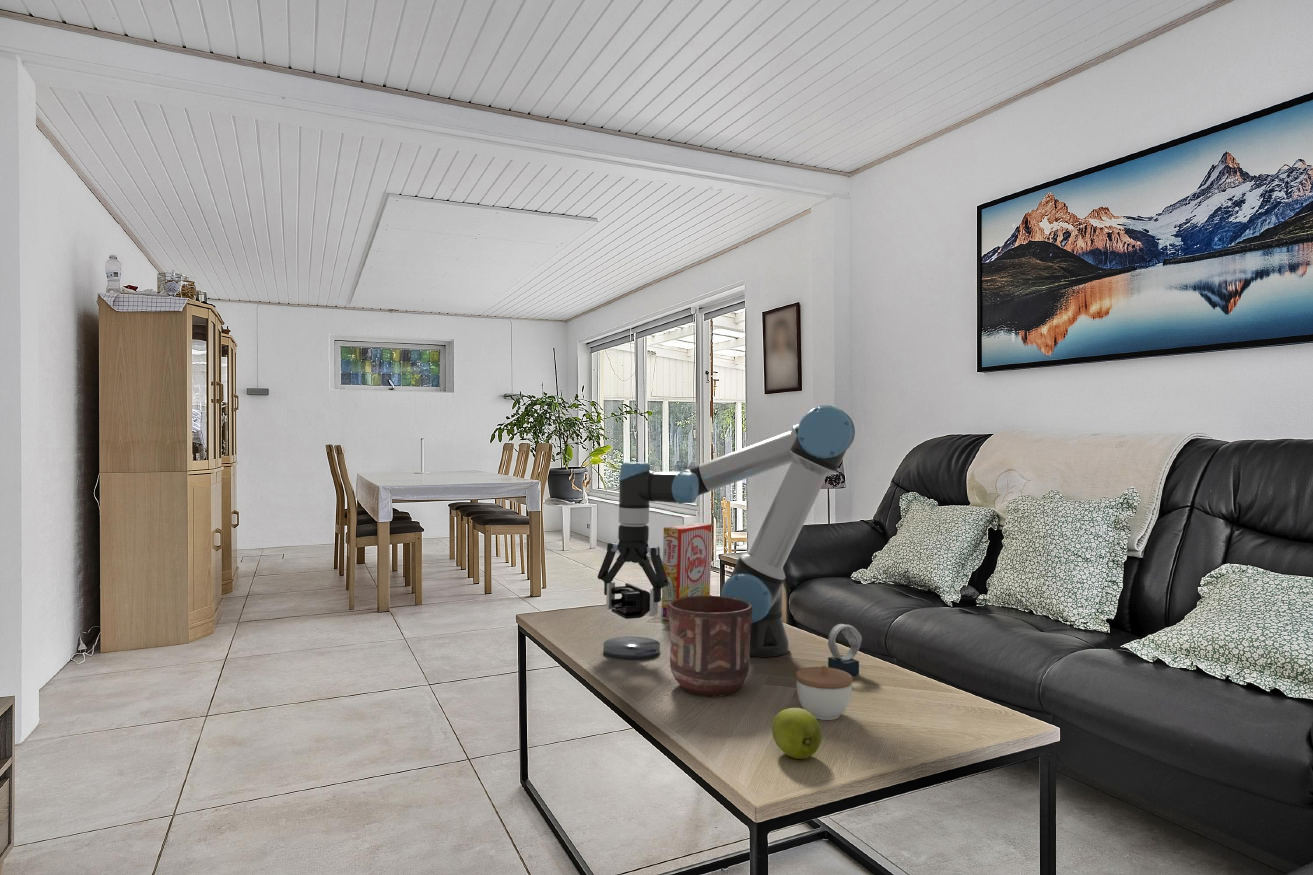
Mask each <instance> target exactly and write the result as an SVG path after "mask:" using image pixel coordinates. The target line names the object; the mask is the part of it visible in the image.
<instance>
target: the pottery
mask: <svg viewBox="0 0 1313 875" xmlns="http://www.w3.org/2000/svg"><path fill="white" fill-rule="evenodd" d="M668 615H669V620H668V623H669V637H670V638H669V639H670V649H669V650H670V651H669V666H670V671H671V673H672V676H673V677H674V679H675V682H677V683H678V685H680V686H681V688H682V689H683V690H685V692H688V693H690V694H692V695H696V696H701V697H702V696H703V697H725V696H730V695H733V694H735V693H736V692H737V691H738V690H739V689H740V688H741V687H742V686H743V684H744V683H745V681H746V679H747V677H748V675H749V671H750V657H751V656H750V629H751V619H752V606H751V604H750V603H748V602H746V601H744V600H740V599H736V598H730V597H722V596H721V595H719V596H718V595H710V596H688V597H682V598H677V599H675V600H673V601H670V602H669V604H668Z"/></svg>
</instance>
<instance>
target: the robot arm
mask: <svg viewBox="0 0 1313 875" xmlns="http://www.w3.org/2000/svg"><path fill="white" fill-rule="evenodd" d="M855 433H856V429H855V424H854V422H853V420H852V418H851V417H850V416H849V414H848V413H846V412H845V411H844V410H842V409H840V408H839V407H836V406H833V405H828V404H827V405H826V404H825V405H819V406H815V407H813V408H811V409H810V410H809V411H808V412H806V413H805V414H804V415H803V416H802V418H801V419H800V421H799V423H797V424H794V425H793V426H792V428H791V430H790V431H789V430H788V431H787V432H783V433H781V434H778V435H776V436H773V437H770V438H767V439H765V440H762V441H759V442H757V443H754V444H751V445H749V446H746V447H743V448H741V449H737V450H735V451H733V452H730V453H726V454H724V455H721V456H719V457H716V458H714V459H711V460H708V461H705V462H703V463H700V464H697V465H694V466H691V467H687V468H686V469H682V470H676V471H656V470H652V469H651V464H650V463H648V462H641V461H640V462H633V461H627V462H626V461H625V462H623V463H622V464H621V465H620V467H619V468H620V469H619V470H620V471H619V480H618V483H619V484H618V486H619V488H618V489H619V492H618V493H619V495H618V496H619V497H618V498H619V500H618V501H619V502H618V503H619V504H618V523H619V524H620V525H618V532H617V533H618V534H617V539H618V542H615V541H613V542H608V543H607V545H606V553H605V556H604V557H603V558H604V559H603V561H602V564H601V565H600V569H599V571H598V573H597V579H598V580H601V581H602V582H603V585H604V586H603V588H604V589H603V593H604V596H606V602H605V603H606V605H605V606H606V610H609V611H610V610H612V609H614V608H613V607H612V606H611V599H616V594H611V589H612V587H616V582H615V581H614V579H615V577H616V576H617V574H619V571H620V570H621V569H622V567H623V566H624V564H625V563H630V562H631V563H633V564H637V563H638V565H639V566H640V568H642V570H643V572H644V573H645V576H646V578H647V579H648V581H649V583H650V585H651V586H652V588H649V589H650V590H649V593H650V611H649V617H655V616H657V615H658V613H659V602H662V587H665V586H668V585H669V582H668V579H667V576H666V573H665V570H664V567H663V560H662V558H661V552H660V551H661V549H660V547H659V546H649V534H650V532H649V531H650V527H649V526H648V525H647V524H649V522H650V502H658V503H659V502H660V503H663V502H664V503H675V504H676V503H677V504H693V503H695V502H696V501H697V498H698V497H699V496H701V495H704V494H707V493H709V492H711V491H715V490H717V489H721V488H723V487H726V486H729V485H733V484H734V483H737V482H740V481H744V480H746V479H750V478H753V477H755V476H757V475H760V474H762V473H766V472H769V471H772V470H775V469H777V468H779V467H783V466H786V465H789V467H788V469H787V471H786V473H785V475H784V477H783V479H782V481H781V484H780V486H779V488H778V490H777V492H776V495H775V496H774V498H773V501H772V503H771V505H770V507H769V509H768V511H767V513H766V515H765V518H764V519H763V522H762V524H761V526H760V528H759V530H758V532H757V535H756V537H755V539H754V541H753V542H752V546H751V547H750V550H749V551H747V552H745V553H742V554H740V556H739V558H738V559H737V560H736V563H735V566H734V569H733V570H732V572H731V574H730V577H728V578H727V579H726V581H725V582H724V583H723V586H722V587H721V588H722V589H721V593H720V596H722V597H730V598H736V599H740V600H744V601H746V602H748V603H750V604H751V606H752V619H751V629H750V657H757V658H771V657H779V656H783V655H786V654H787V653H788V652H789V640H788V636H787V633H786V629H785V626H784V622H783V615H782V614H783V584H784V581H785V579H786V574H785V571H784V566H785V564H786V562H787V559H788V558H789V556H790V553H791V551H792V549H793V547H794V545H795V543H796V541H797V538H798V537H799V535H800V533H801V530H802V528H803V526H804V525H805V522H806V521H807V518H808V515H809V514H810V512H811V510H812V507H813V506H814V503H815V501H816V499H817V497H818V496H819V492H820V490H821V488H822V487H823V485H824V483H825V480H826V477H828V476H831V475H833V474H836V473H837V471H838V468H840V467H839V466H840V465H841V463H842V460H843V459H844V456H845V455H846V452H847V451H848V449H849V448H850V447H851V445H852V444H853V442H854V439H855ZM617 551H618V552H619V555H618V556H617V557H616V559H615V562H614V563H613V561H614V558H615V556H616V552H617ZM647 554H649V556H650V559H649V557H648V555H647ZM650 560H651V562H652V564H651V563H650ZM612 563H613V565H612Z"/></svg>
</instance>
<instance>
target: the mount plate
mask: <svg viewBox="0 0 1313 875" xmlns="http://www.w3.org/2000/svg"><path fill="white" fill-rule="evenodd" d="M602 652H603V654H604V655H606V656H607V657H609V658H612V659H619V660H625V661H626V660H627V661H632V660H633V661H636V660H637V661H638V660H639V661H640V660H646V659H652V658H654V657H655V658H656V657H657V656H659V655H660V653H661V643H660V642H659V641H658V640H656V639H654V638H649V637H645V636H619V637H612V638H610V639H606V640H605V641H604V642H603V650H602Z"/></svg>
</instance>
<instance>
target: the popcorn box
mask: <svg viewBox="0 0 1313 875" xmlns="http://www.w3.org/2000/svg"><path fill="white" fill-rule="evenodd" d="M662 540H663V544H662V545H663V546H662V564H663V567H664V570H665V573H666V576H667V579H668V582H669V585H668V586H665V587H662V589H661V609H660V610H661V612H660V613H661V614H660V619H661V620H666V621H669V615H668V604H669V602H670V601H673V600H675V599H677V598H682V597H688V596H711V594H710V593H711V568H712V567H711V563H712V562H711V560H712V523H707V522H706V523H705V522H692V523H686V524H681V525H674V526H666V527H663V539H662Z"/></svg>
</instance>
